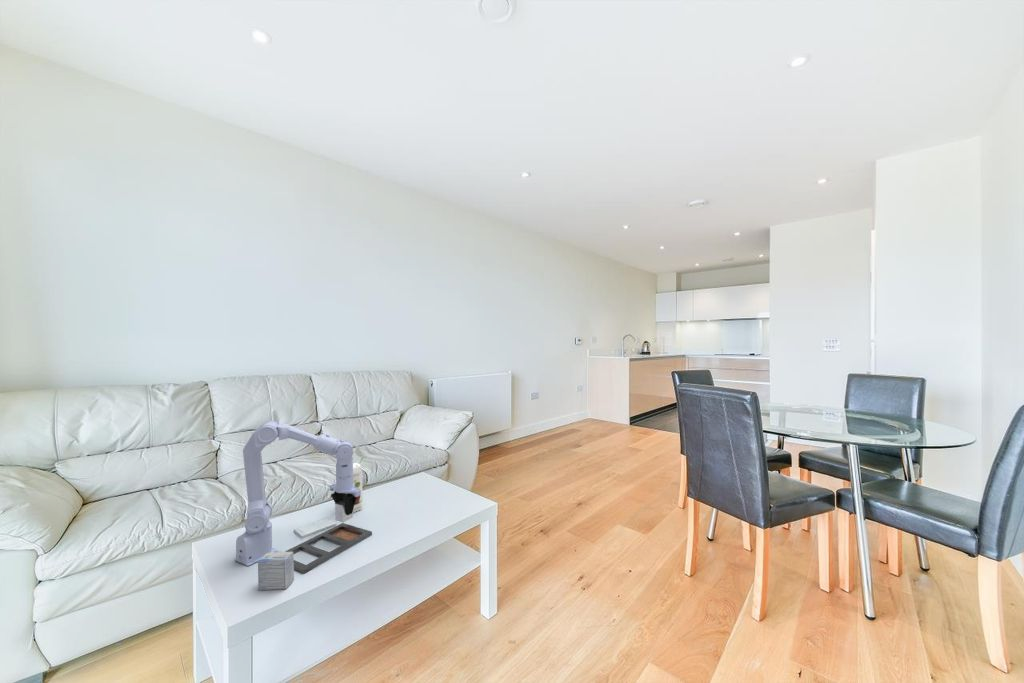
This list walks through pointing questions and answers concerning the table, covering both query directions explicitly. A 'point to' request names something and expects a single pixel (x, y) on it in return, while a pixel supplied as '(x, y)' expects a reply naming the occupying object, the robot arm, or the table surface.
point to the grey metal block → (341, 512)
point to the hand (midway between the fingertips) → (345, 512)
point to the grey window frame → (337, 535)
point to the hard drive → (314, 528)
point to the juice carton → (357, 485)
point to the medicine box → (275, 571)
